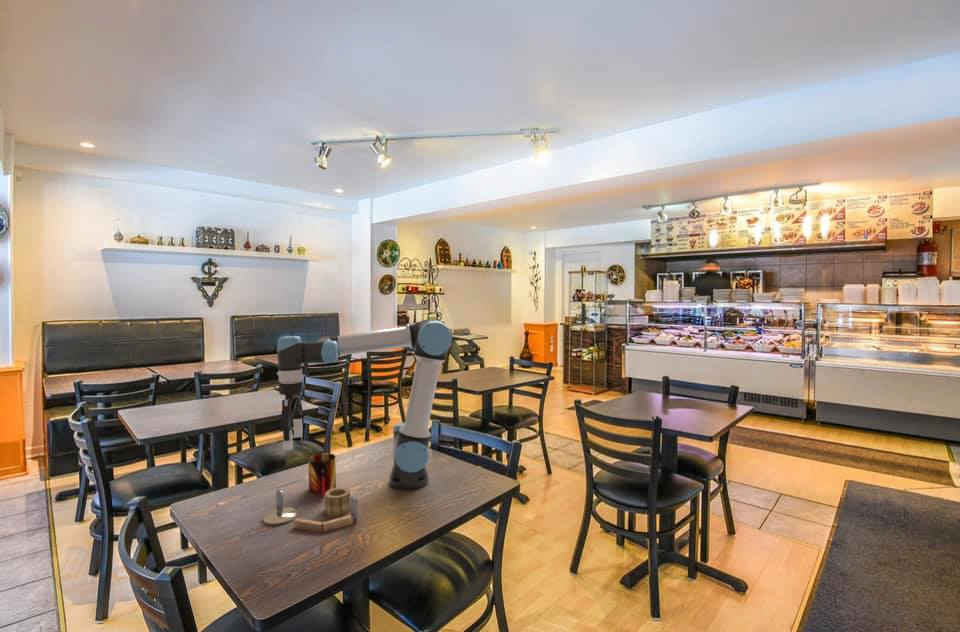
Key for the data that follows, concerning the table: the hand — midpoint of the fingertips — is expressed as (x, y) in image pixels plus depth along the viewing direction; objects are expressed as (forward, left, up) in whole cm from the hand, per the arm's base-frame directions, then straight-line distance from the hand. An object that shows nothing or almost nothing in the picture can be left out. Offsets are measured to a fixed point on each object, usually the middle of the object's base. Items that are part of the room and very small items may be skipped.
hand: (293, 443), depth 162 cm
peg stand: (+3, +7, -23) cm, 24 cm away
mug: (-8, -13, -23) cm, 27 cm away
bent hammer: (-13, +16, -23) cm, 30 cm away
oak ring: (-15, +4, -23) cm, 27 cm away
